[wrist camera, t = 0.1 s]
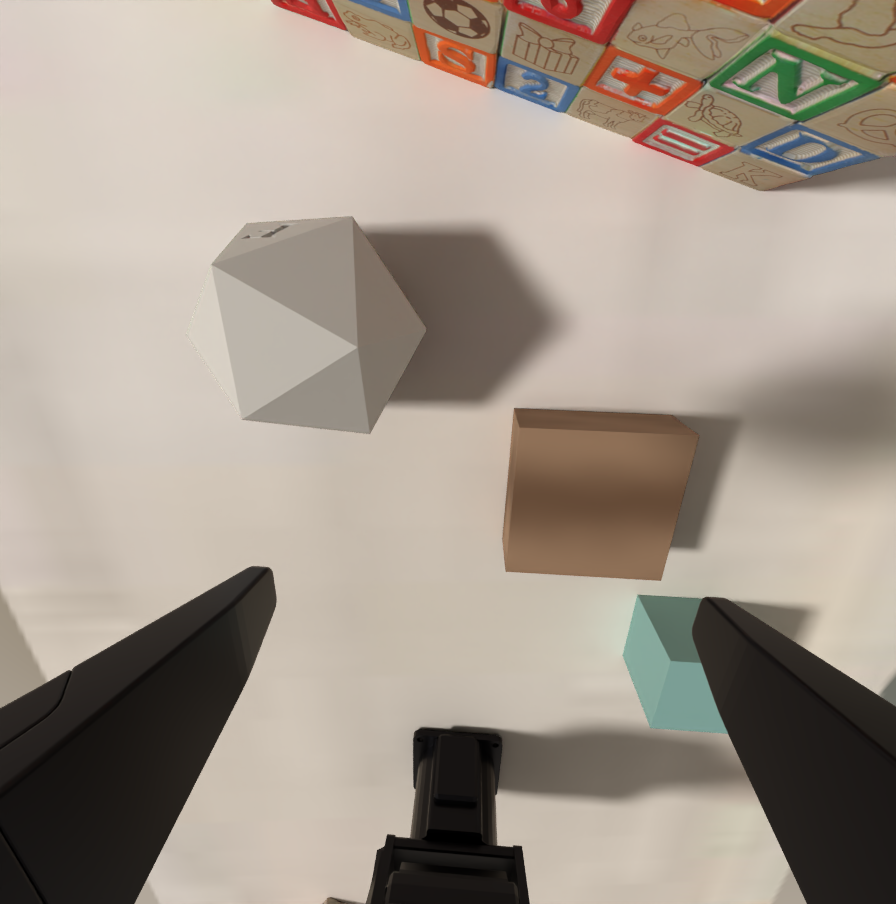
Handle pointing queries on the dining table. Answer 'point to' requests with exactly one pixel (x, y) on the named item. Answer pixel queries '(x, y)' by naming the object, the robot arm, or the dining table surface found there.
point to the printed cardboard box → (670, 71)
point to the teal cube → (669, 666)
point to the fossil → (332, 901)
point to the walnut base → (594, 492)
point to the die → (305, 325)
